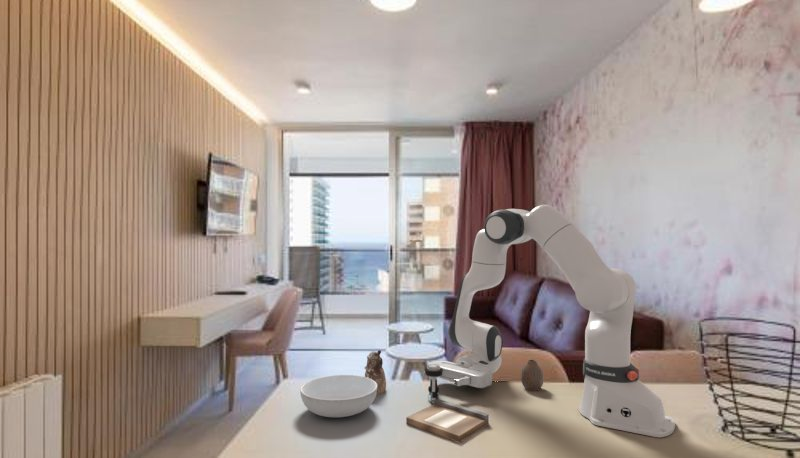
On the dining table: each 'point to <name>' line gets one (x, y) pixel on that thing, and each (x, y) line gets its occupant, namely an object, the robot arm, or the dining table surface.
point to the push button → (433, 380)
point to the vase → (532, 376)
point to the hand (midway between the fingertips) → (443, 379)
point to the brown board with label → (449, 420)
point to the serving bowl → (338, 395)
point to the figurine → (376, 371)
